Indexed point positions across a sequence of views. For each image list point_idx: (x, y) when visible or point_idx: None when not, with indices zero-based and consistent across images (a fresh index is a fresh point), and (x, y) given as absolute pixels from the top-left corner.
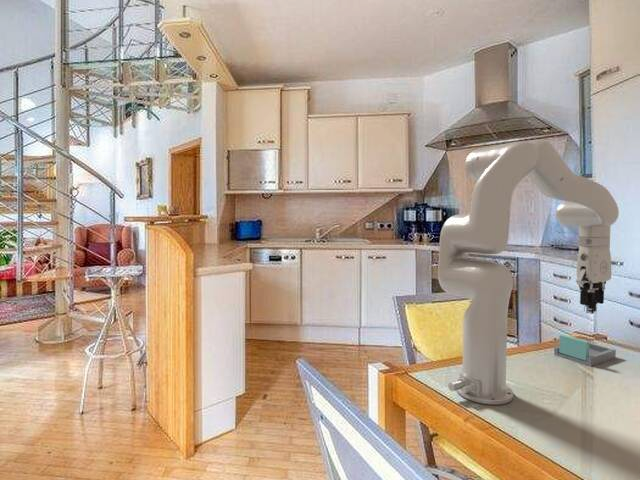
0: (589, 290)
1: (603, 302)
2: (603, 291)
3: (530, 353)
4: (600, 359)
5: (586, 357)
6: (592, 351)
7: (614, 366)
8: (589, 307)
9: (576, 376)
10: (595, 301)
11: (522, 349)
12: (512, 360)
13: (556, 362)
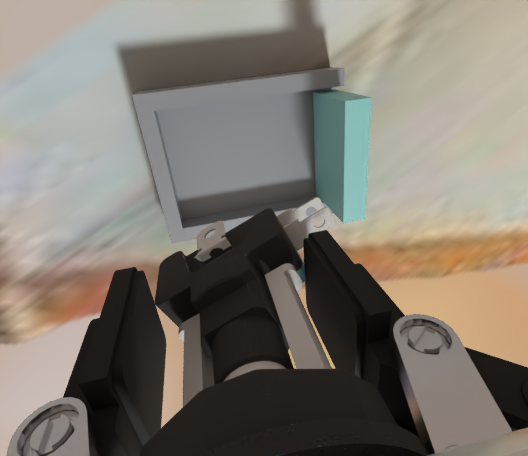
0: (452, 334)
1: (116, 272)
2: (96, 369)
3: (382, 231)
4: (262, 76)
5: (335, 90)
6: (195, 160)
7: (244, 21)
8: (294, 247)
9: (465, 20)
10: (246, 272)
11: (370, 264)
12: (478, 204)
13: (392, 144)
